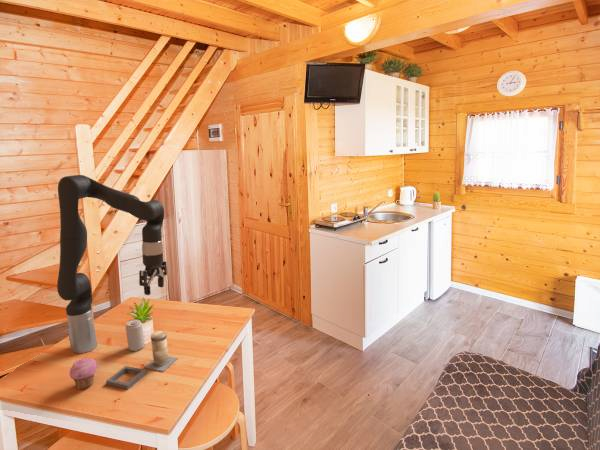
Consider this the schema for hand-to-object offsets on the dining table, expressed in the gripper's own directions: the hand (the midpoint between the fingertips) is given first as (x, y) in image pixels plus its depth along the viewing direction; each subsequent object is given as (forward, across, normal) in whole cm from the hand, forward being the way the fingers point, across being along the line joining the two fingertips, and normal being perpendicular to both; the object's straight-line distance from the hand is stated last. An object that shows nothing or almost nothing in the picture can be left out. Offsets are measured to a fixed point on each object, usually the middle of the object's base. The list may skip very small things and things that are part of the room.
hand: (154, 290), depth 147 cm
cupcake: (+30, +23, -13) cm, 40 cm away
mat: (+28, +5, +6) cm, 29 cm away
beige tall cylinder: (+28, +5, +6) cm, 29 cm away
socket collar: (+29, +17, -1) cm, 33 cm away
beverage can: (+29, -3, -12) cm, 32 cm away
